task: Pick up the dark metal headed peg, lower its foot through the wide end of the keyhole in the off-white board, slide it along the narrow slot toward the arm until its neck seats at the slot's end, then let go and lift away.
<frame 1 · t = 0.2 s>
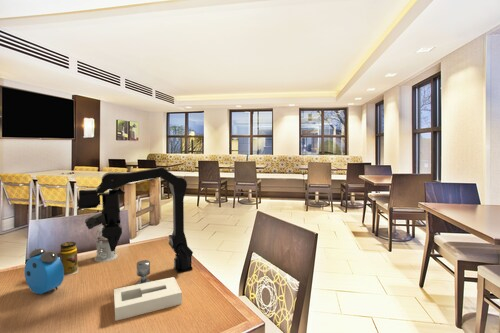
hand: (112, 246, 102), 14 cm above the table, tool pointing down, fingers open, 9 cm apart
keyhole peg: (143, 285, 102), on the table
keyhole board: (147, 302, 91), on the table
french press: (105, 257, 127), on the table
condiment: (66, 272, 112), on the table
alarm clock: (44, 291, 97), on the table
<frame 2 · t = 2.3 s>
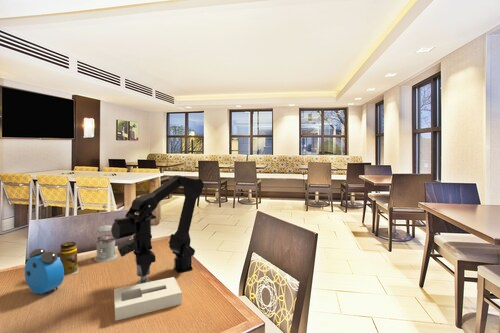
hand: (143, 272, 101), 5 cm above the table, tool pointing down, fingers closed on keyhole peg, 5 cm apart
keyhole peg: (143, 285, 102), on the table, touching gripper
everything else where it was.
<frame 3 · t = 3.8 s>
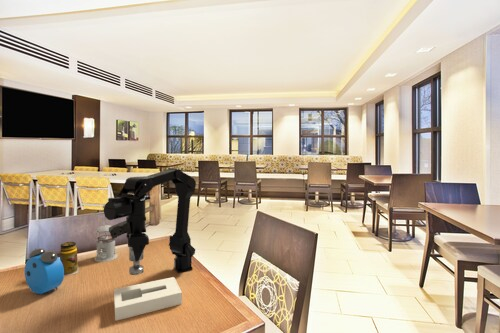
hand: (136, 258, 94), 13 cm above the table, tool pointing down, fingers closed on keyhole peg, 5 cm apart
keyhole peg: (136, 272, 95), point 8 cm above the table, touching gripper
everything else where it was.
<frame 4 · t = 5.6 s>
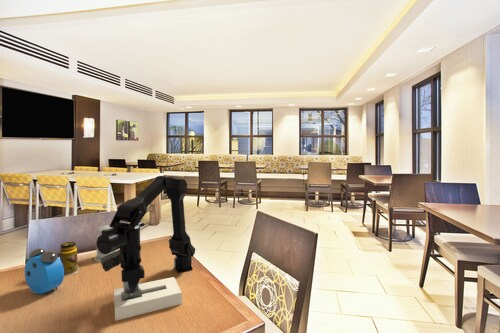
hand: (131, 289, 88), 6 cm above the table, tool pointing down, fingers closed on keyhole peg, 5 cm apart
keyhole peg: (131, 304, 89), point 1 cm above the table, touching gripper
everything else where it was.
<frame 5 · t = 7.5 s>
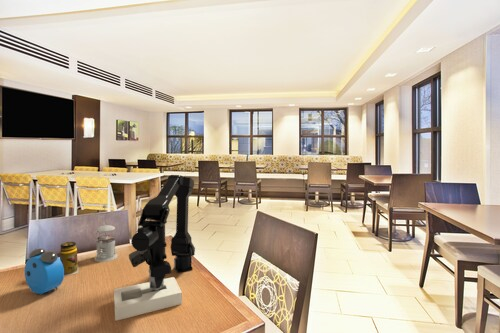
hand: (156, 284, 92), 5 cm above the table, tool pointing down, fingers closed on keyhole peg, 5 cm apart
keyhole peg: (156, 298, 93), resting on keyhole board, touching gripper
everything else where it was.
when the fingers open (6 cm above the table, at t = 9.0 s): keyhole peg stays where it is, resting on keyhole board.
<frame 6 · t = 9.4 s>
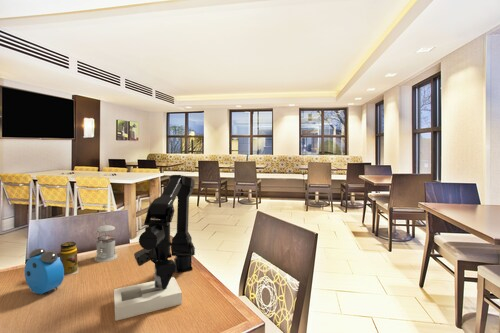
hand: (161, 283, 93), 6 cm above the table, tool pointing down, fingers open, 8 cm apart
keyhole peg: (161, 298, 93), resting on keyhole board
everything else where it was.
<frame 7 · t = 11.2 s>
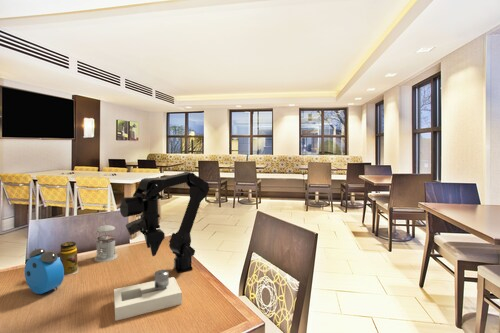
hand: (151, 251, 104), 12 cm above the table, tool pointing down, fingers open, 9 cm apart
nothing on the table moved.
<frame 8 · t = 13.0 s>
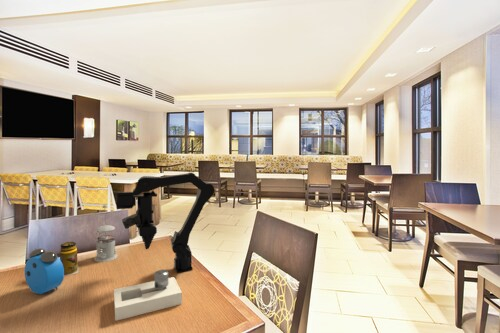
hand: (145, 245, 111), 12 cm above the table, tool pointing down, fingers open, 9 cm apart
nothing on the table moved.
at the end: keyhole peg 0.2 cm from the target spot on the keyhole board, point 0.3 cm above the keyhole board's base; the gripper is holding nothing; keyhole peg tilted 1° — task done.
